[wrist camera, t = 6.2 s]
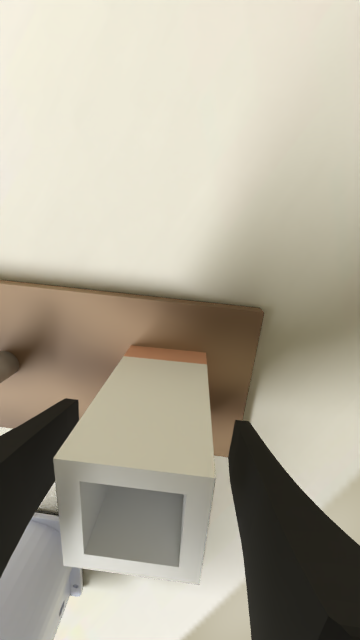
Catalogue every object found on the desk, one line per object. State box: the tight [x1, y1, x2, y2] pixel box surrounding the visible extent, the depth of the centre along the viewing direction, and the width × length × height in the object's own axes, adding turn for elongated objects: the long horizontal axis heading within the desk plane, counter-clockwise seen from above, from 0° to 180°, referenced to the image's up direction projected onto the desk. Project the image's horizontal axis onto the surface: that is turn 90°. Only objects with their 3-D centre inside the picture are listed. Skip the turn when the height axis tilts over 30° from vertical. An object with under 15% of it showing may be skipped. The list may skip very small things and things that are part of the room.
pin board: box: [0, 280, 264, 457], centre depth 14 cm, size 10×20×4 cm, turn 84°
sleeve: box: [53, 345, 216, 585], centre depth 11 cm, size 4×4×8 cm
